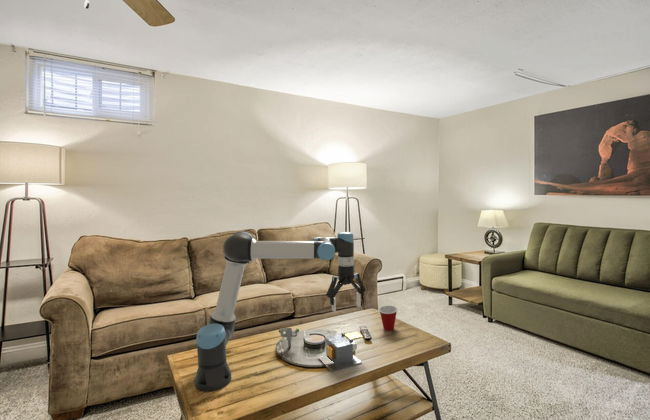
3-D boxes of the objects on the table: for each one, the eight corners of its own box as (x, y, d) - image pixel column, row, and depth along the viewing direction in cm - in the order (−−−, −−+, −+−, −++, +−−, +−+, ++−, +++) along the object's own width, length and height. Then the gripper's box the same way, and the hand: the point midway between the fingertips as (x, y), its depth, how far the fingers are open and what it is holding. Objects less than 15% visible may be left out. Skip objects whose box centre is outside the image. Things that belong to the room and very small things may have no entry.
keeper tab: (350, 340, 161) (350, 339, 161) (344, 336, 166) (344, 334, 166) (362, 337, 164) (362, 336, 164) (356, 333, 170) (356, 331, 169)
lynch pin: (331, 359, 158) (331, 349, 157) (327, 355, 162) (326, 345, 162) (358, 352, 164) (357, 342, 164) (352, 348, 168) (352, 338, 168)
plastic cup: (375, 328, 198) (374, 308, 198) (388, 323, 205) (388, 304, 204) (388, 334, 190) (387, 313, 189) (401, 329, 196) (401, 309, 195)
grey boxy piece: (331, 372, 153) (330, 348, 152) (318, 358, 165) (317, 336, 164) (361, 363, 160) (361, 339, 159) (346, 350, 172) (346, 329, 171)
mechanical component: (299, 348, 176) (298, 329, 175) (279, 349, 176) (278, 330, 176) (299, 346, 179) (298, 327, 178) (280, 346, 179) (279, 327, 179)
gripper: (325, 269, 153) (326, 316, 154) (372, 263, 164) (372, 306, 165) (318, 266, 160) (319, 310, 161) (363, 260, 171) (364, 302, 172)
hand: (346, 308), depth 163 cm, fingers open, 13 cm apart
